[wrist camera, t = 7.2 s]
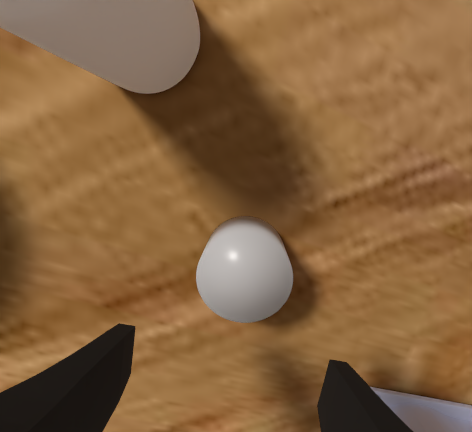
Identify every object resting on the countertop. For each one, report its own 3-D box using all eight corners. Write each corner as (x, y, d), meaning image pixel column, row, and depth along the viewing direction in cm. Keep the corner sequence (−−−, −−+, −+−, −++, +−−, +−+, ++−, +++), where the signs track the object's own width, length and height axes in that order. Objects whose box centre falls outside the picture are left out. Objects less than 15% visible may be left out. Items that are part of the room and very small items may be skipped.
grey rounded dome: (292, 223, 19) (302, 241, 15) (275, 296, 21) (282, 330, 17) (213, 209, 19) (203, 224, 16) (201, 282, 21) (190, 313, 17)
